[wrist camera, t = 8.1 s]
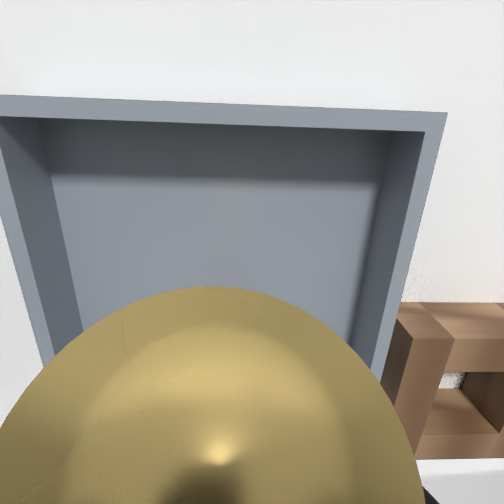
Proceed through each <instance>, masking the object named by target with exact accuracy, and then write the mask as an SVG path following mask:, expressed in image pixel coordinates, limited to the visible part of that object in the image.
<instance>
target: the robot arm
mask: <svg viewBox="0 0 504 504" xmlns="http://www.w3.org/2000/svg"><path fill="white" fill-rule="evenodd" d="M422 487H423V486H422ZM423 491H424V497H425V504H439V503H438V502H437V501H436V500H435V499H434V498H433V496H432V495H431V494H430V493H429V492H428V491H427V490H426V489H425V488H424V487H423Z"/></svg>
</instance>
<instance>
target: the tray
mask: <svg viewBox="0 0 504 504" xmlns="http://www.w3.org/2000/svg"><path fill="white" fill-rule="evenodd" d="M447 114H448V113H447V112H422V111H397V110H373V109H348V108H323V107H298V106H273V105H248V104H223V103H198V102H173V101H148V100H123V99H98V98H74V97H49V96H24V95H0V216H1V220H2V223H3V227H4V230H5V234H6V237H7V241H8V244H9V248H10V251H11V255H12V258H13V262H14V265H15V269H16V272H17V276H18V279H19V283H20V286H21V290H22V293H23V297H24V300H25V304H26V307H27V311H28V314H29V318H30V321H31V325H32V328H33V332H34V335H35V339H36V342H37V346H38V349H39V353H40V356H41V360H42V363H43V367H45V366H46V365H47V364H48V363H49V362H50V361H51V360H52V359H53V358H54V357H55V356H56V355H57V354H58V353H59V352H60V351H61V350H62V349H63V348H64V347H65V346H66V345H67V344H69V343H70V342H71V341H72V340H74V339H75V338H76V337H78V336H79V335H80V334H81V333H83V332H84V331H85V330H87V329H88V328H89V327H90V326H92V325H94V324H95V323H97V322H98V321H100V320H102V319H103V318H105V317H107V316H108V315H110V314H111V313H113V312H115V311H117V310H119V309H121V308H123V307H125V306H128V305H130V304H132V303H134V302H136V301H138V300H141V299H144V298H147V297H150V296H153V295H156V294H159V293H163V292H168V291H172V290H177V289H182V288H190V287H203V286H220V287H235V288H240V289H246V290H252V291H256V292H260V293H263V294H266V295H269V296H273V297H276V298H279V299H281V300H283V301H285V302H287V303H290V304H292V305H294V306H296V307H298V308H300V309H302V310H303V311H305V312H307V313H308V314H310V315H312V316H313V317H315V318H317V319H318V320H320V321H321V322H322V323H324V324H325V325H326V326H327V327H329V328H330V329H331V330H332V331H334V332H335V333H336V334H338V335H339V336H340V337H341V338H342V339H343V340H344V341H345V342H346V343H347V344H348V345H349V346H350V347H351V348H352V349H353V350H354V351H355V352H356V353H357V354H358V355H359V357H360V358H361V359H362V360H363V362H364V363H365V364H366V365H367V367H368V368H369V369H370V370H371V372H372V373H373V374H374V375H375V377H376V378H377V380H378V382H379V383H380V381H381V377H382V373H383V369H384V365H385V361H386V357H387V353H388V349H389V345H390V341H391V337H392V333H393V329H394V325H395V321H396V317H397V313H398V309H399V305H400V301H401V297H402V293H403V289H404V285H405V281H406V277H407V273H408V269H409V265H410V261H411V257H412V254H413V250H414V246H415V242H416V238H417V234H418V230H419V226H420V222H421V218H422V214H423V210H424V206H425V202H426V198H427V194H428V190H429V186H430V182H431V178H432V174H433V170H434V166H435V162H436V158H437V154H438V150H439V146H440V142H441V138H442V134H443V130H444V126H445V122H446V118H447Z"/></svg>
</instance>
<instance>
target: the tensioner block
mask: <svg viewBox="0 0 504 504" xmlns="http://www.w3.org/2000/svg"><path fill="white" fill-rule="evenodd" d="M443 372H468V373H467V375H466V378H465V380H464V383H463V385H462V388H461V389H438V387H439V384H440V381H441V378H442V375H443ZM380 385H381V386H382V388H383V390H384V391H385V393H386V394H387V396H388V397H389V399H390V401H391V403H392V405H393V407H394V409H395V411H396V413H397V415H398V417H399V419H400V421H401V423H402V425H403V427H404V430H405V432H406V435H407V438H408V441H409V443H410V446H411V449H412V451H413V454H414V457H415V460H427V459H478V458H504V303H429V302H400V305H399V309H398V313H397V317H396V321H395V325H394V329H393V333H392V337H391V341H390V345H389V349H388V353H387V357H386V361H385V365H384V369H383V373H382V377H381V381H380Z"/></svg>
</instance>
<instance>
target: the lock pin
mask: <svg viewBox="0 0 504 504" xmlns="http://www.w3.org/2000/svg"><path fill="white" fill-rule="evenodd" d="M0 504H425V497H424V491H423V487H422V483H421V480H420V476H419V472H418V468H417V464H416V460H415V457H414V454H413V451H412V449H411V446H410V443H409V441H408V438H407V435H406V432H405V430H404V427H403V425H402V423H401V421H400V419H399V417H398V415H397V413H396V411H395V409H394V407H393V405H392V403H391V401H390V399H389V397H388V396H387V394H386V393H385V391H384V390H383V388H382V386H381V385H380V383H379V382H378V380H377V378H376V377H375V375H374V374H373V373H372V372H371V370H370V369H369V368H368V367H367V365H366V364H365V363H364V362H363V360H362V359H361V358H360V357H359V355H358V354H357V353H356V352H355V351H354V350H353V349H352V348H351V347H350V346H349V345H348V344H347V343H346V342H345V341H344V340H343V339H342V338H341V337H340V336H339V335H338V334H336V333H335V332H334V331H332V330H331V329H330V328H329V327H327V326H326V325H325V324H324V323H322V322H321V321H320V320H318V319H317V318H315V317H313V316H312V315H310V314H308V313H307V312H305V311H303V310H302V309H300V308H298V307H296V306H294V305H292V304H290V303H287V302H285V301H283V300H281V299H279V298H276V297H273V296H269V295H266V294H263V293H260V292H256V291H252V290H246V289H240V288H235V287H220V286H203V287H190V288H182V289H177V290H172V291H168V292H163V293H159V294H156V295H153V296H150V297H147V298H144V299H141V300H138V301H136V302H134V303H132V304H130V305H128V306H125V307H123V308H121V309H119V310H117V311H115V312H113V313H111V314H110V315H108V316H107V317H105V318H103V319H102V320H100V321H98V322H97V323H95V324H94V325H92V326H90V327H89V328H88V329H87V330H85V331H84V332H83V333H81V334H80V335H79V336H78V337H76V338H75V339H74V340H72V341H71V342H70V343H69V344H67V345H66V346H65V347H64V348H63V349H62V350H61V351H60V352H59V353H58V354H57V355H56V356H55V357H54V358H53V359H52V360H51V361H50V362H49V363H48V364H47V365H46V366H45V367H44V368H43V369H42V371H41V372H40V373H39V374H38V375H37V377H36V378H35V379H34V380H33V381H32V382H31V384H30V385H29V386H28V387H27V388H26V390H25V391H24V393H23V394H22V395H21V397H20V398H19V400H18V401H17V403H16V404H15V406H14V407H13V409H12V410H11V411H10V413H9V414H8V416H7V417H6V419H5V421H4V423H3V425H2V426H1V428H0Z"/></svg>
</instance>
